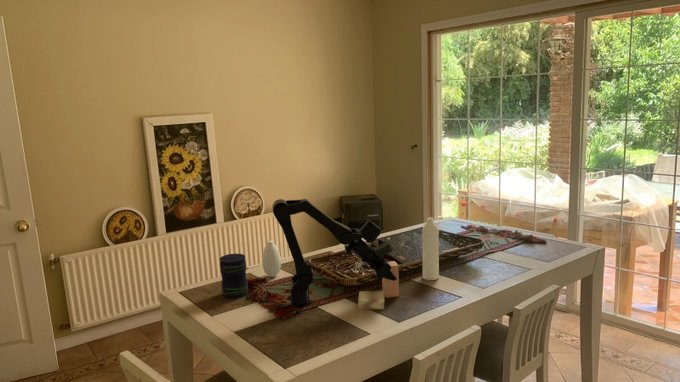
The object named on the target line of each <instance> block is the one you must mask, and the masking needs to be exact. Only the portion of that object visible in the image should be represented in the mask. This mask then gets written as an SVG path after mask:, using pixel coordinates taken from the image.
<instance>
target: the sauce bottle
mask: <svg viewBox="0 0 680 382" xmlns="http://www.w3.org/2000/svg"><path fill="white" fill-rule="evenodd" d="M261 258H262V259H261V264H262V269H263V271H264V273H265V274H266V275H267V276H268V277H271V278H274V277H276V276H277V275H278V274H279V273H280V270H281V269H282V268H281V267H282V258H281V254H280V250H279V249H278V247H277V245H276V244H275V242H274V241H273V240H272V239H271V237H269V240H268V241H267V242H266V245H265V247H264V249H263V252H262V257H261Z"/></svg>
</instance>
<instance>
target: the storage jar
mask: <svg viewBox="0 0 680 382" xmlns="http://www.w3.org/2000/svg"><path fill="white" fill-rule="evenodd" d="M219 271H220V275H221V291H222V297H223V298H224V299H226V300H238V299H242V298H244V297H247V295H249V291H248V290H249V285H248V284H249V283H248V279H247V262H246V255H245V254H242V253H229V254H225V255H223V256H220V257H219Z"/></svg>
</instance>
